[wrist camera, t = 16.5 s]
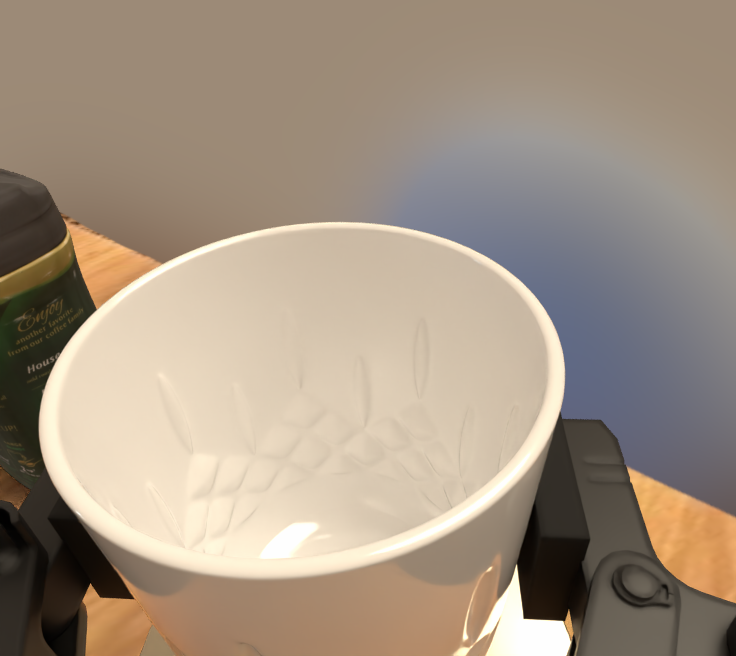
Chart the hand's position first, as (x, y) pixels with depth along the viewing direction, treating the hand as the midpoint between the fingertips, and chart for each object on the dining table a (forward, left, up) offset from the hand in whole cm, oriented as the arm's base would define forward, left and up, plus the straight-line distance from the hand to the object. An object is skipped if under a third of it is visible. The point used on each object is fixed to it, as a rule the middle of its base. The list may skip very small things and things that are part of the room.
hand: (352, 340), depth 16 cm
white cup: (+4, -3, -6) cm, 8 cm away
